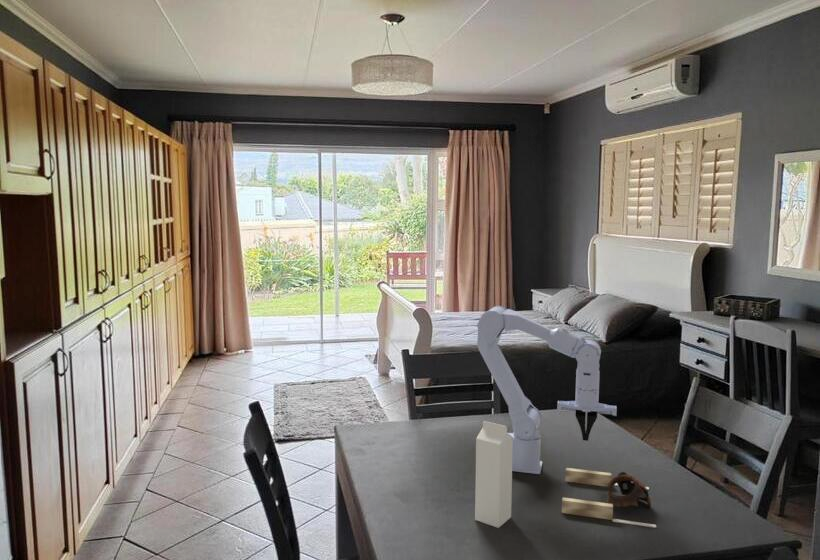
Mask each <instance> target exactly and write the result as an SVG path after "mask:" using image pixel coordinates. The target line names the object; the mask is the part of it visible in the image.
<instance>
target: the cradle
mask: <svg viewBox="0 0 820 560" xmlns="http://www.w3.org/2000/svg"><path fill="white" fill-rule="evenodd" d="M564 479H565V481H564V482H567V483H568V482H569V483H574V482H575V483H576V484H583V485H593V486H600V487H606V486H608V483H609V482H610V481H611V480H612V473H611V472H607V471H606V472H603V471H597V470H587V469H579V468H571V467H566V468H565V478H564ZM561 499H562V500H561V513H562V514H565V515H566V514H567V515H568V514H569V515H575V516H582V517H590V518H596V519H603V520H611V521H613V519H614V518H613V515H614V506H613V504H608V502H600V501H592V500H585V499H578V498H570V497H562V498H561Z"/></svg>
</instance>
